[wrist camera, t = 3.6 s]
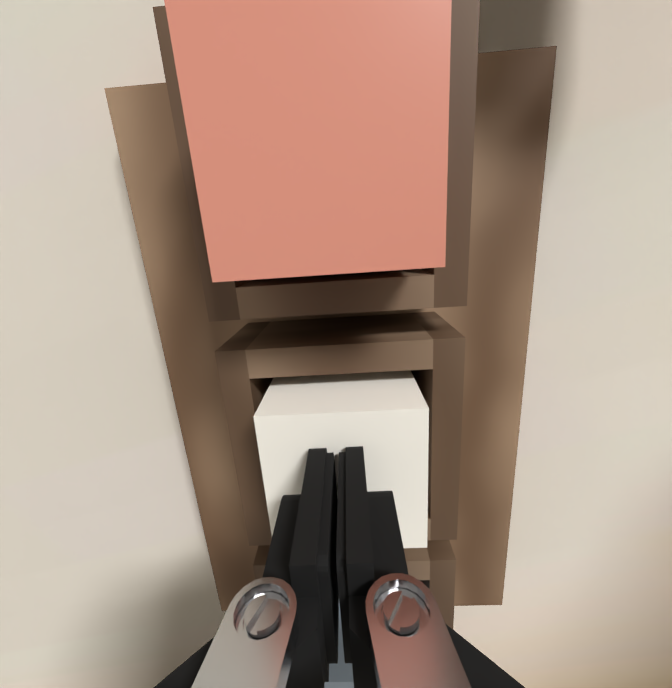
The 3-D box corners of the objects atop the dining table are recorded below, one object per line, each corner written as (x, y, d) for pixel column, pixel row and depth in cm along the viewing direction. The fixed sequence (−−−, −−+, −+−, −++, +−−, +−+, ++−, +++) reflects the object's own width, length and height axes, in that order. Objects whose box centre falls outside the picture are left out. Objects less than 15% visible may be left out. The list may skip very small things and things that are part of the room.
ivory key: (405, 360, 14) (428, 408, 10) (406, 468, 15) (427, 547, 11) (279, 367, 14) (253, 416, 10) (292, 473, 15) (274, 552, 11)
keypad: (527, 72, 14) (657, -46, 8) (487, 571, 21) (540, 694, 16) (136, 108, 14) (-2, 23, 9) (232, 578, 22) (192, 697, 16)
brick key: (410, 72, 10) (452, -36, 6) (411, 256, 11) (445, 267, 7) (233, 88, 10) (163, -5, 6) (257, 267, 11) (212, 282, 8)
